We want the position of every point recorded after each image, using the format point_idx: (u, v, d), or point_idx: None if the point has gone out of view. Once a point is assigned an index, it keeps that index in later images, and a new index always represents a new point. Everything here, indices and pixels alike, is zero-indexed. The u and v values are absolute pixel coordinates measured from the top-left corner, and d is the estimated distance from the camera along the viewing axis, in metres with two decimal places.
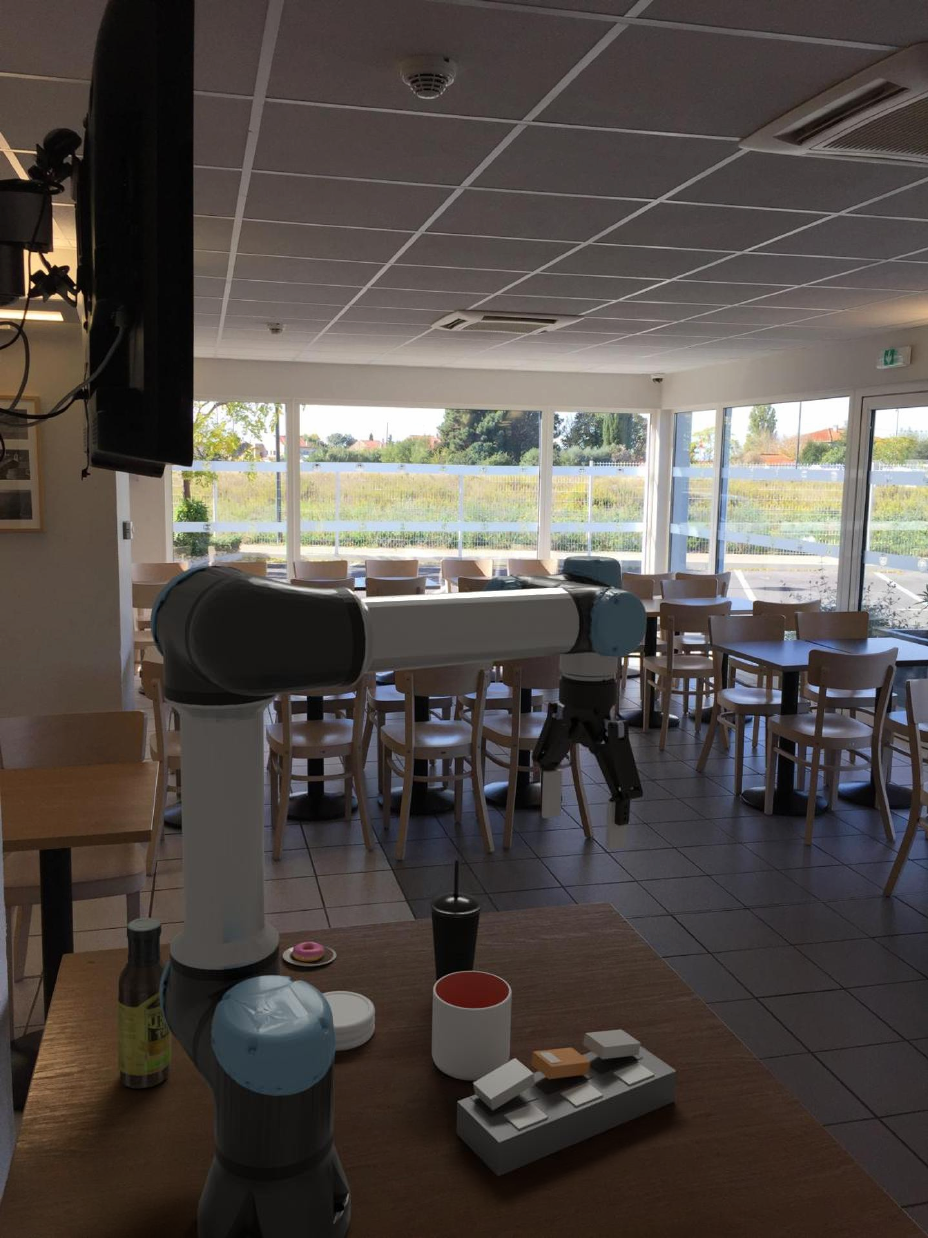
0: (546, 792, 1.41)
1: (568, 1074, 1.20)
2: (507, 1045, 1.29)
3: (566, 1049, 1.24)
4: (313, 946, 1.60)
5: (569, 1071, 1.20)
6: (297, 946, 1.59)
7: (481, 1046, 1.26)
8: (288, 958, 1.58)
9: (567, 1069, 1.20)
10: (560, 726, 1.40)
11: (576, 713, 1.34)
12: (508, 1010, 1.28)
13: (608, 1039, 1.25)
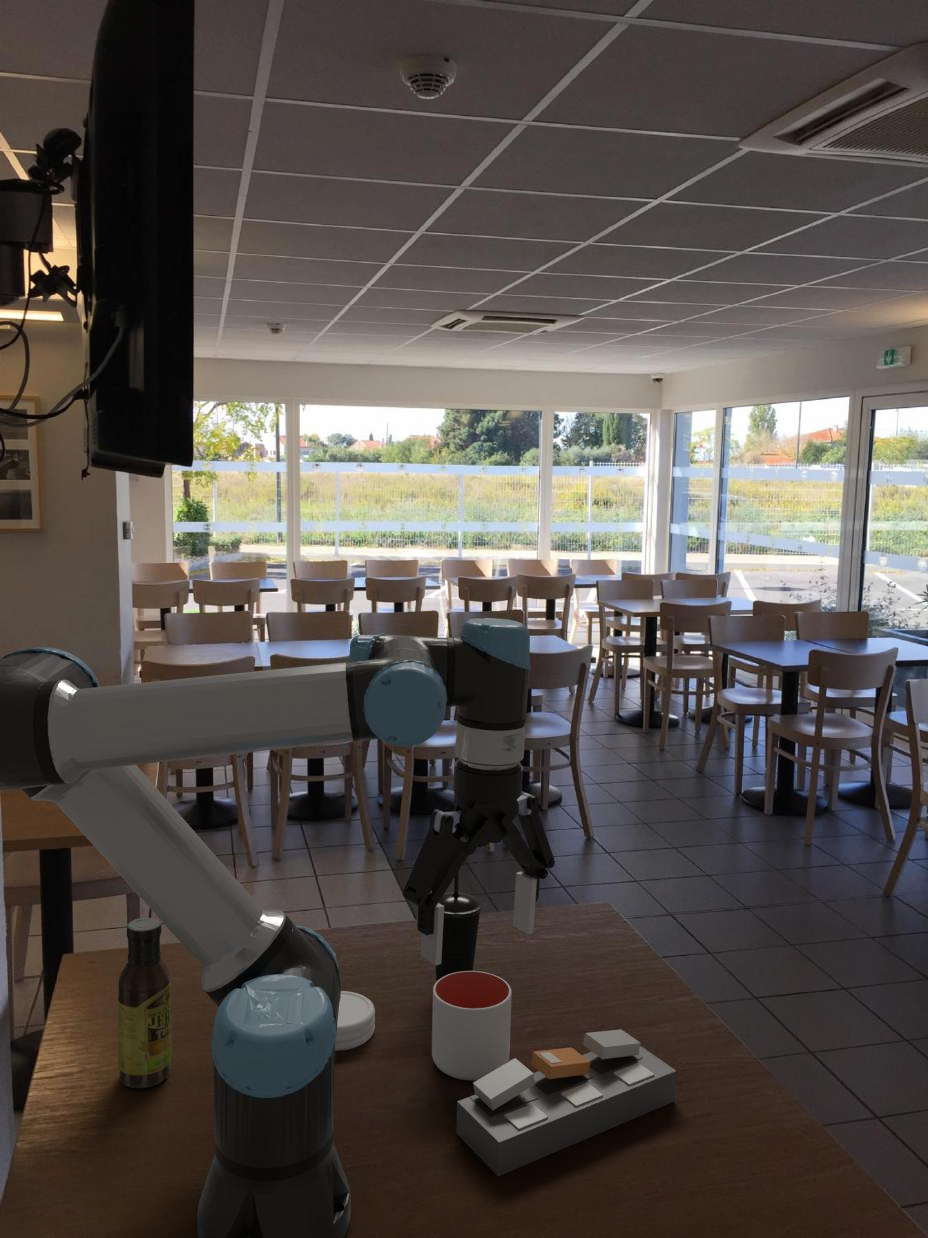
0: (515, 896, 1.19)
1: (568, 1074, 1.20)
2: (507, 1045, 1.29)
3: (566, 1049, 1.24)
4: None
5: (569, 1071, 1.20)
6: None
7: (481, 1046, 1.26)
8: None
9: (567, 1069, 1.20)
10: (531, 826, 1.16)
11: None
12: (508, 1010, 1.28)
13: (608, 1039, 1.25)
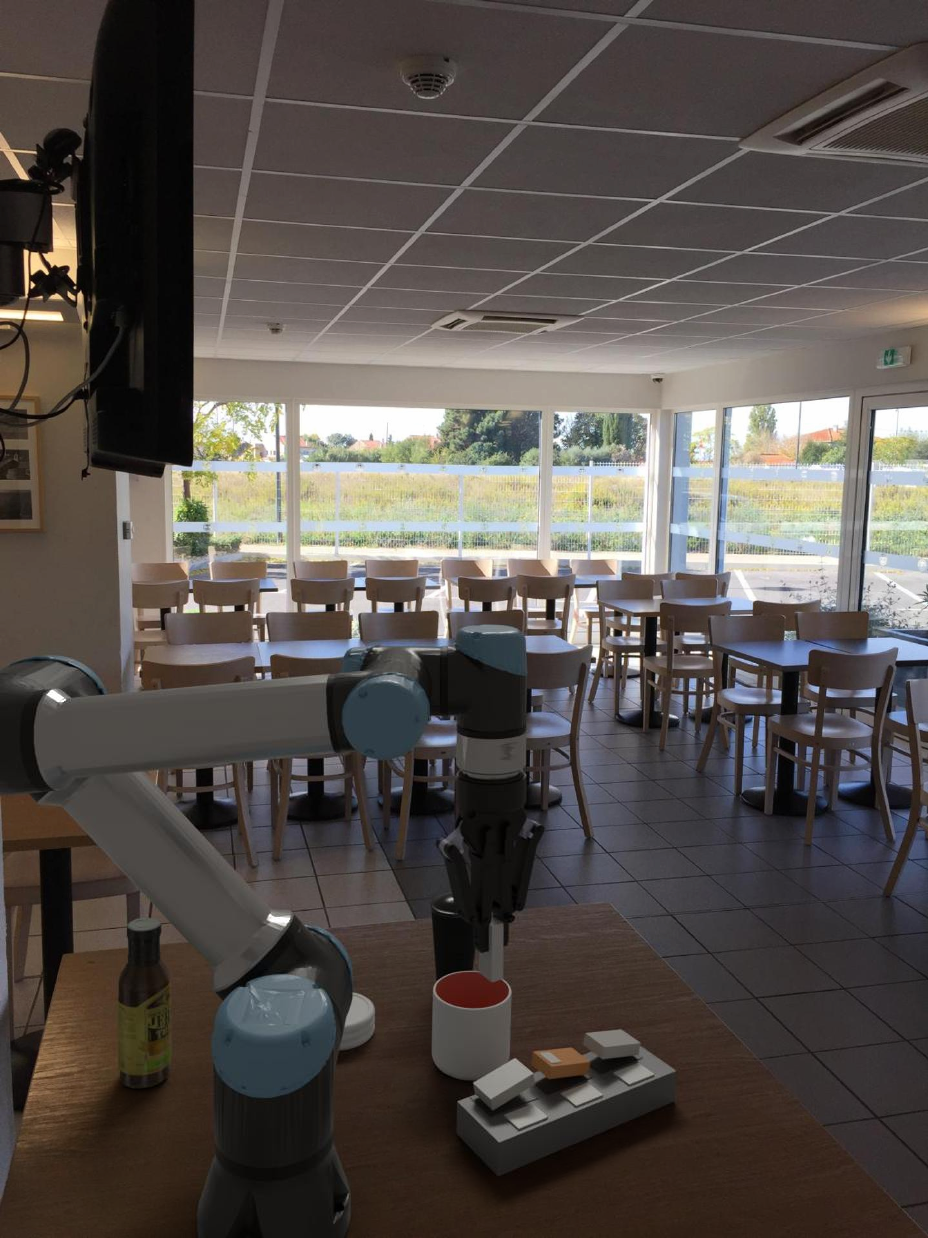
0: None
1: (568, 1074, 1.20)
2: (507, 1045, 1.29)
3: (566, 1049, 1.24)
4: None
5: (569, 1071, 1.20)
6: None
7: (481, 1046, 1.26)
8: None
9: (567, 1069, 1.20)
10: (524, 852, 1.13)
11: None
12: (508, 1010, 1.28)
13: (608, 1039, 1.25)
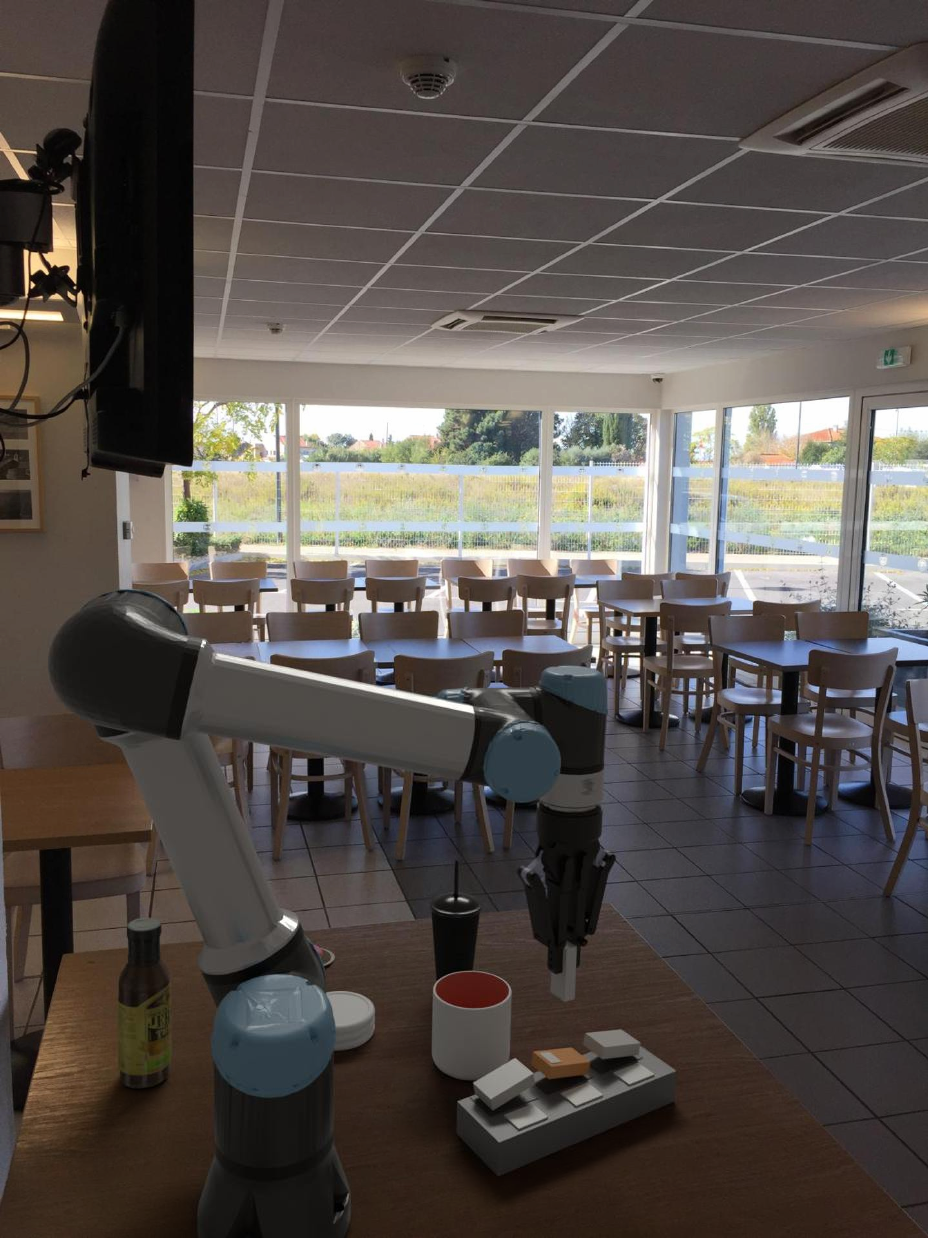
0: None
1: (568, 1074, 1.20)
2: (507, 1045, 1.29)
3: (566, 1049, 1.24)
4: None
5: (569, 1071, 1.20)
6: None
7: (481, 1046, 1.26)
8: None
9: (567, 1069, 1.20)
10: (596, 880, 1.20)
11: None
12: (508, 1010, 1.28)
13: (608, 1039, 1.25)
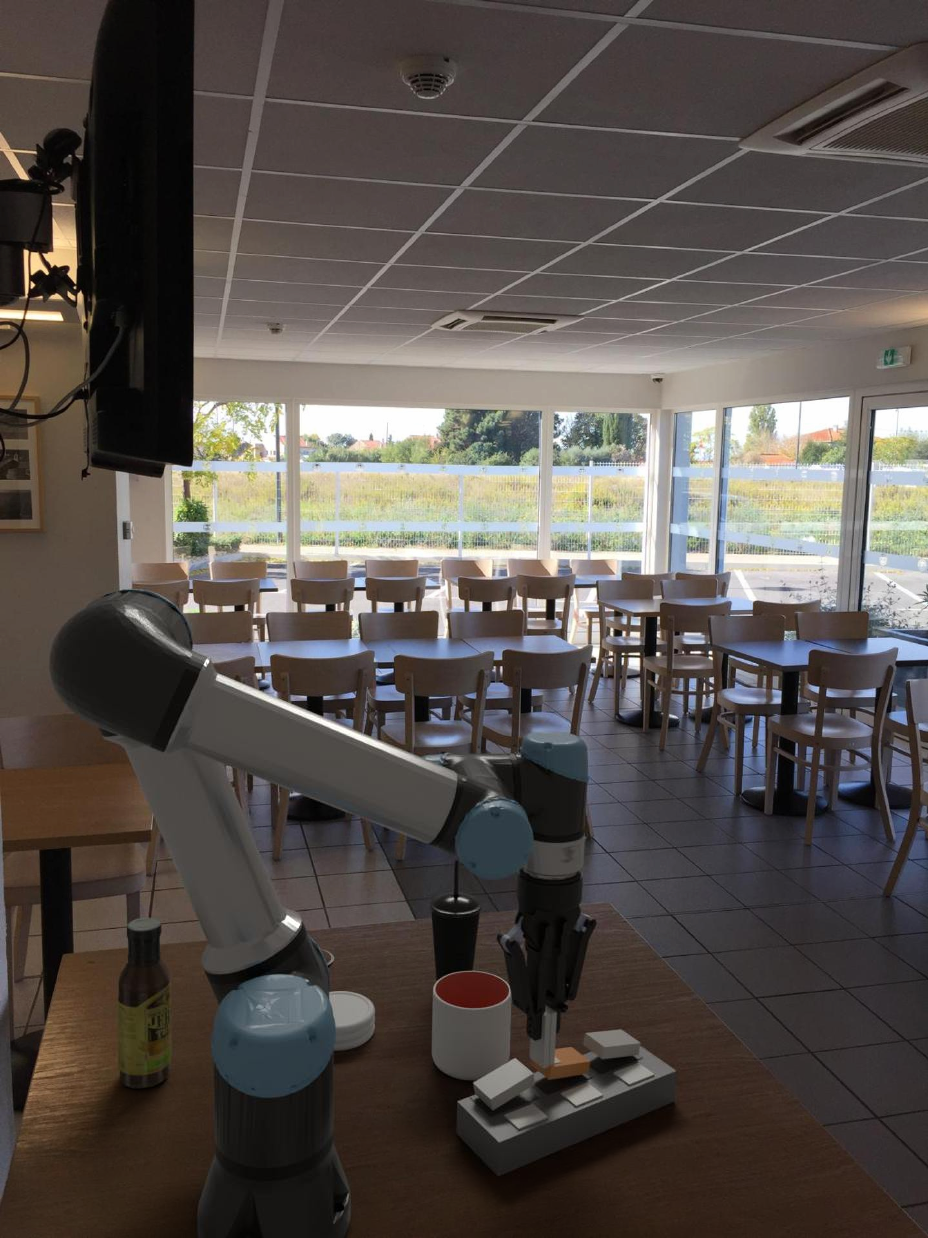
0: None
1: (568, 1074, 1.20)
2: (507, 1045, 1.29)
3: (566, 1049, 1.24)
4: None
5: (569, 1071, 1.20)
6: None
7: (481, 1046, 1.26)
8: None
9: (567, 1069, 1.20)
10: (577, 945, 1.19)
11: None
12: (508, 1010, 1.28)
13: (608, 1039, 1.25)
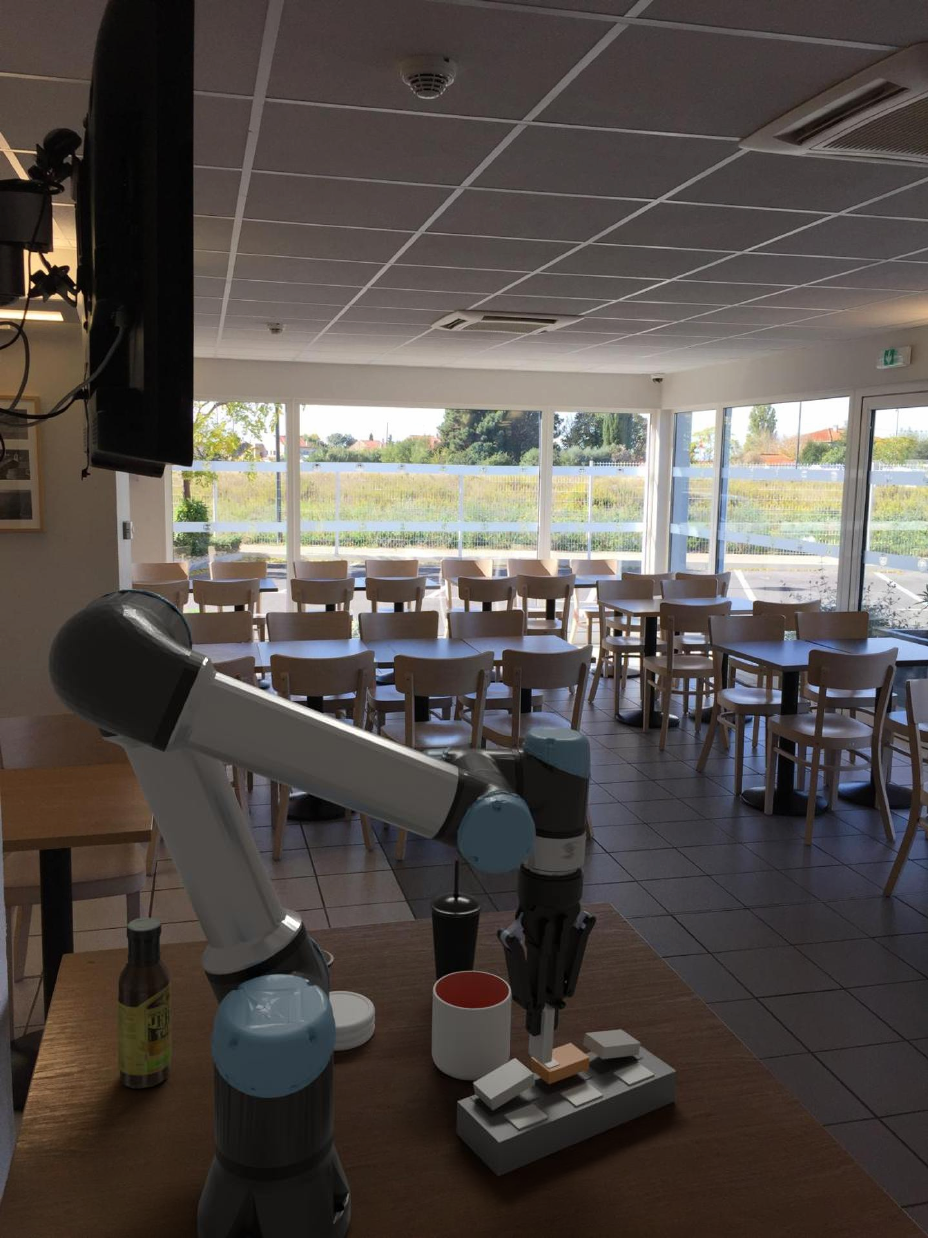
0: None
1: (568, 1074, 1.20)
2: (507, 1045, 1.29)
3: (565, 1046, 1.24)
4: None
5: (568, 1071, 1.20)
6: None
7: (481, 1046, 1.26)
8: None
9: (566, 1070, 1.20)
10: (576, 942, 1.19)
11: None
12: (507, 1010, 1.28)
13: (608, 1039, 1.25)
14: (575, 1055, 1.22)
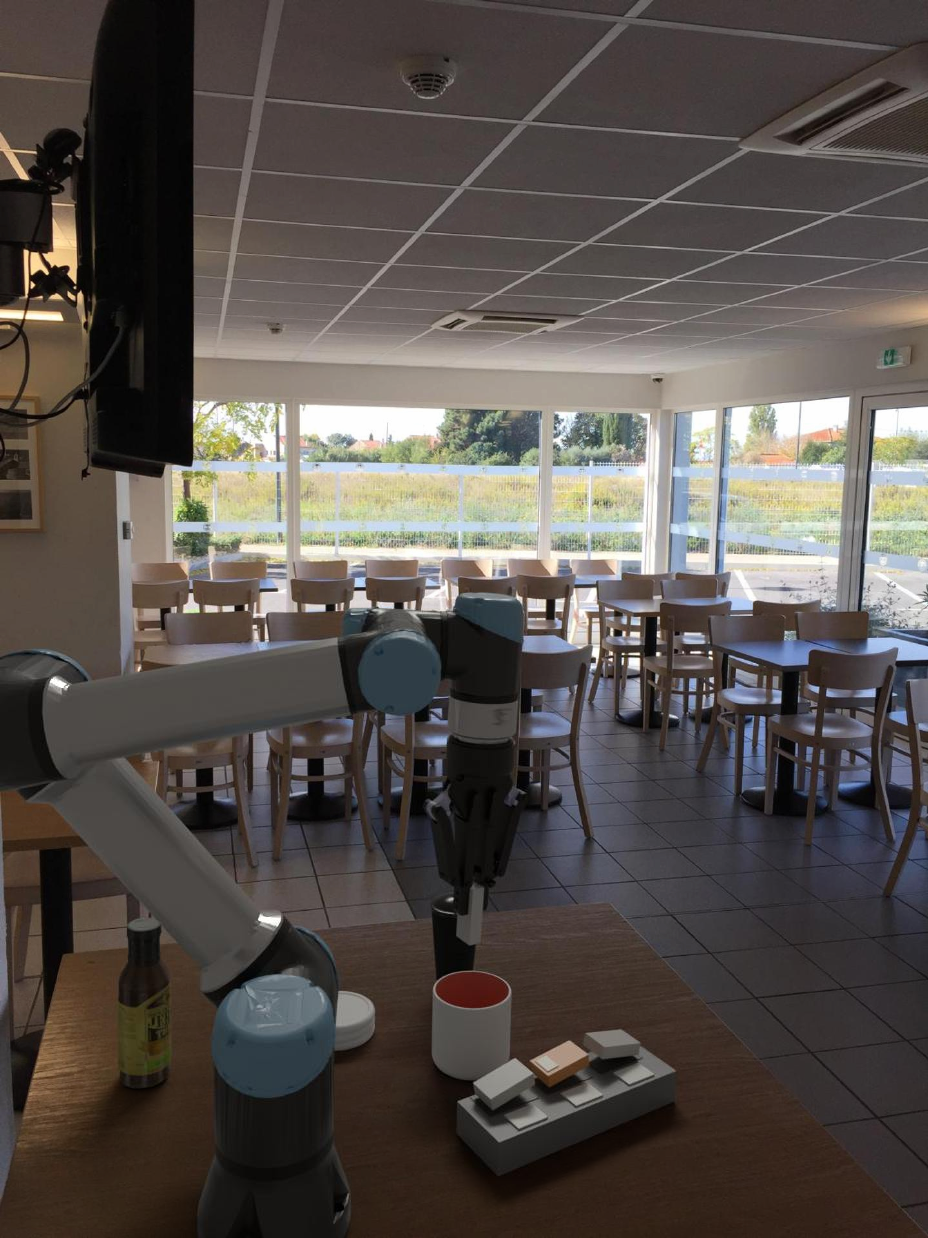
0: None
1: (568, 1074, 1.20)
2: (507, 1045, 1.29)
3: (564, 1045, 1.23)
4: None
5: (568, 1072, 1.20)
6: None
7: (481, 1046, 1.26)
8: None
9: (566, 1071, 1.20)
10: (508, 819, 1.15)
11: None
12: (507, 1010, 1.28)
13: (608, 1039, 1.25)
14: (574, 1054, 1.22)
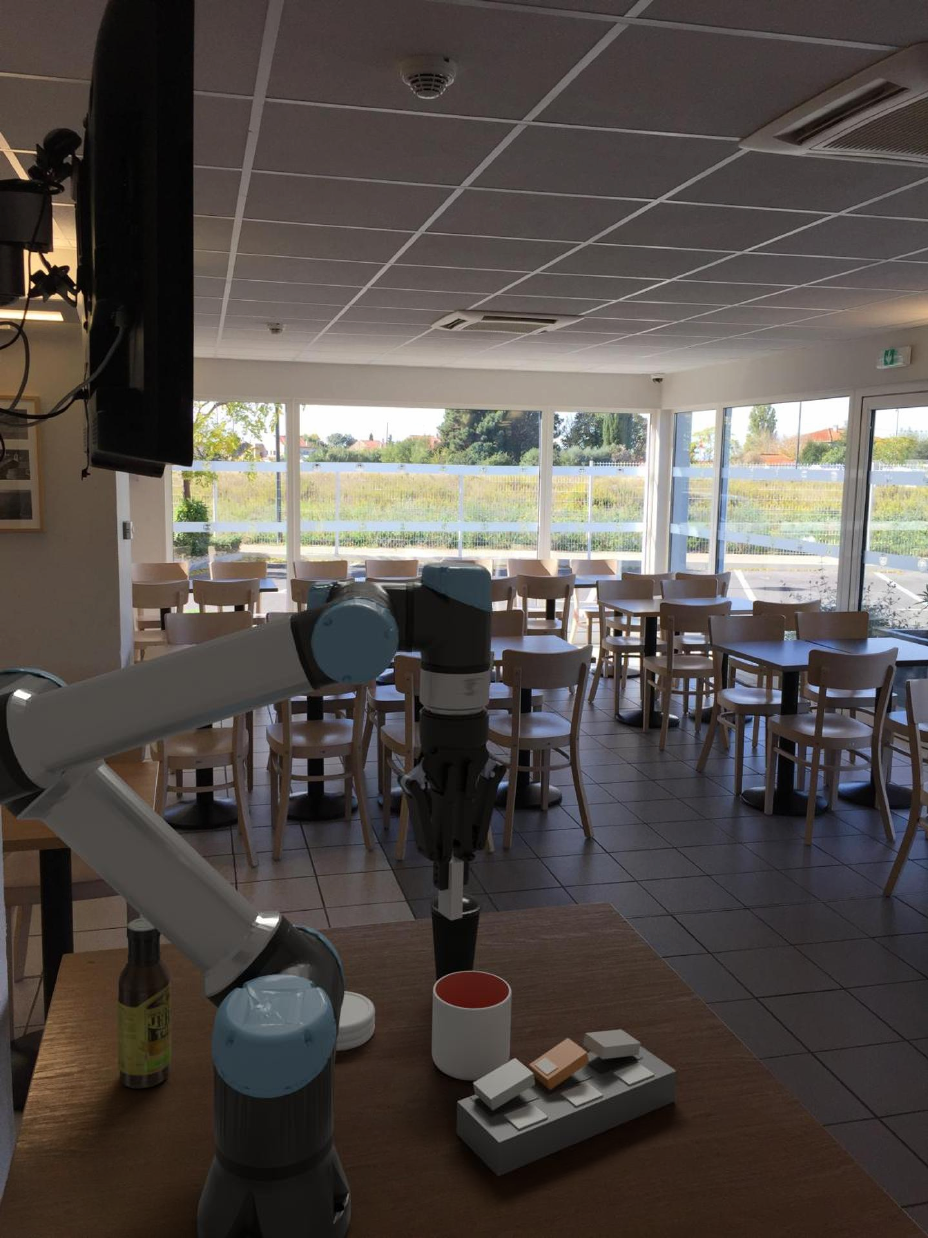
0: None
1: (568, 1074, 1.20)
2: (507, 1045, 1.29)
3: (562, 1043, 1.23)
4: None
5: (568, 1072, 1.20)
6: None
7: (481, 1046, 1.26)
8: None
9: (565, 1071, 1.20)
10: (485, 792, 1.13)
11: None
12: (508, 1010, 1.28)
13: (608, 1039, 1.25)
14: (573, 1052, 1.21)
